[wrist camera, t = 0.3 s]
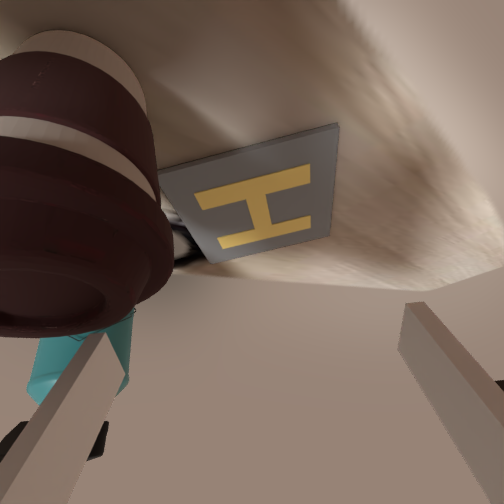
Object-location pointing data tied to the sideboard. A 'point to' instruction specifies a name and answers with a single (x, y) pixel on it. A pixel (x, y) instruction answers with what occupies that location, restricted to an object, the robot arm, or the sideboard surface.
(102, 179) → the coffee cup
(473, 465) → the robot arm
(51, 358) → the beverage bottle
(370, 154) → the sideboard surface
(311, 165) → the letter board
